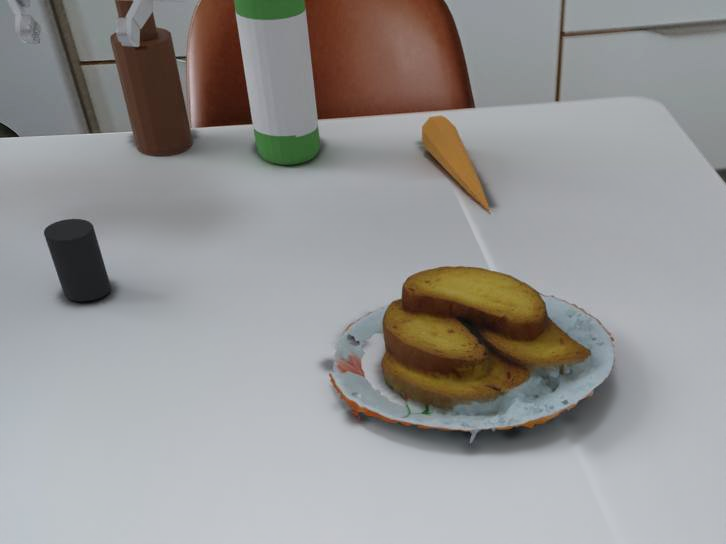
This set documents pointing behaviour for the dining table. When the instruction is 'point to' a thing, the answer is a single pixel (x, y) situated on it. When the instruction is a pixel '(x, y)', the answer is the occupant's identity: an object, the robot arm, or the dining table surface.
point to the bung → (77, 259)
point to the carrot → (452, 155)
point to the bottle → (152, 89)
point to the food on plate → (475, 353)
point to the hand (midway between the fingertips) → (77, 41)
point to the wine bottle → (279, 78)
